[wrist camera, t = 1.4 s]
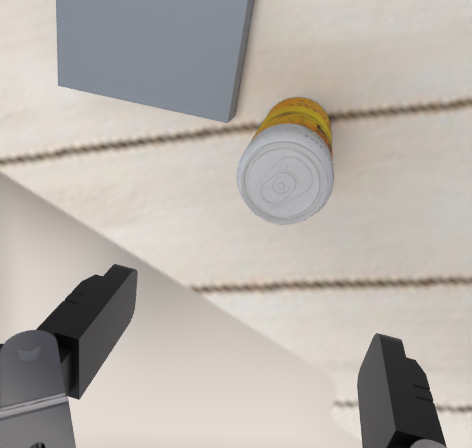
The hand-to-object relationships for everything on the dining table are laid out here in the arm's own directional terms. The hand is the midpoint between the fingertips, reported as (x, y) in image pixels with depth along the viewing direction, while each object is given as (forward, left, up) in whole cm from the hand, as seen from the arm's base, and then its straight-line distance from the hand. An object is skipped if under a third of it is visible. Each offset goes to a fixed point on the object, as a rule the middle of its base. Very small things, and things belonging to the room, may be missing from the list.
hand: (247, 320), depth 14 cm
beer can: (0, 0, -28) cm, 28 cm away
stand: (+14, -8, -28) cm, 32 cm away
